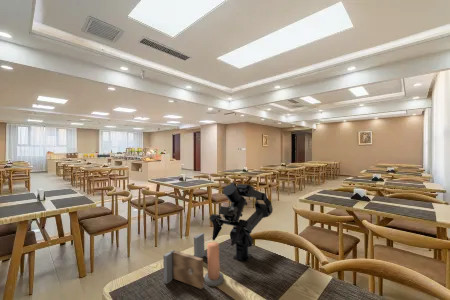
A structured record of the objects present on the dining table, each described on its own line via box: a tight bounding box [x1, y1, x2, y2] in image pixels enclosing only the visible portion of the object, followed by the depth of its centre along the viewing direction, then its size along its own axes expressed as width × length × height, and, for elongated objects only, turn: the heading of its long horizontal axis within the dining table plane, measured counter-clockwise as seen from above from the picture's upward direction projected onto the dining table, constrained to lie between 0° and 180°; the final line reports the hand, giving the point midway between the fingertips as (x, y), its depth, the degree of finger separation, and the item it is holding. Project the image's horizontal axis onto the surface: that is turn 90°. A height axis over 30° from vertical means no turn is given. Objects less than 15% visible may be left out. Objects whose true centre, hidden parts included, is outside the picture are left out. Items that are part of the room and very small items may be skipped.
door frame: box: [162, 232, 205, 285], centre depth 90 cm, size 24×2×10 cm, turn 150°
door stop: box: [204, 241, 224, 287], centre depth 81 cm, size 7×7×14 cm
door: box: [169, 249, 205, 290], centre depth 79 cm, size 15×3×10 cm, turn 60°
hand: (222, 242), depth 85 cm, fingers open, 9 cm apart
